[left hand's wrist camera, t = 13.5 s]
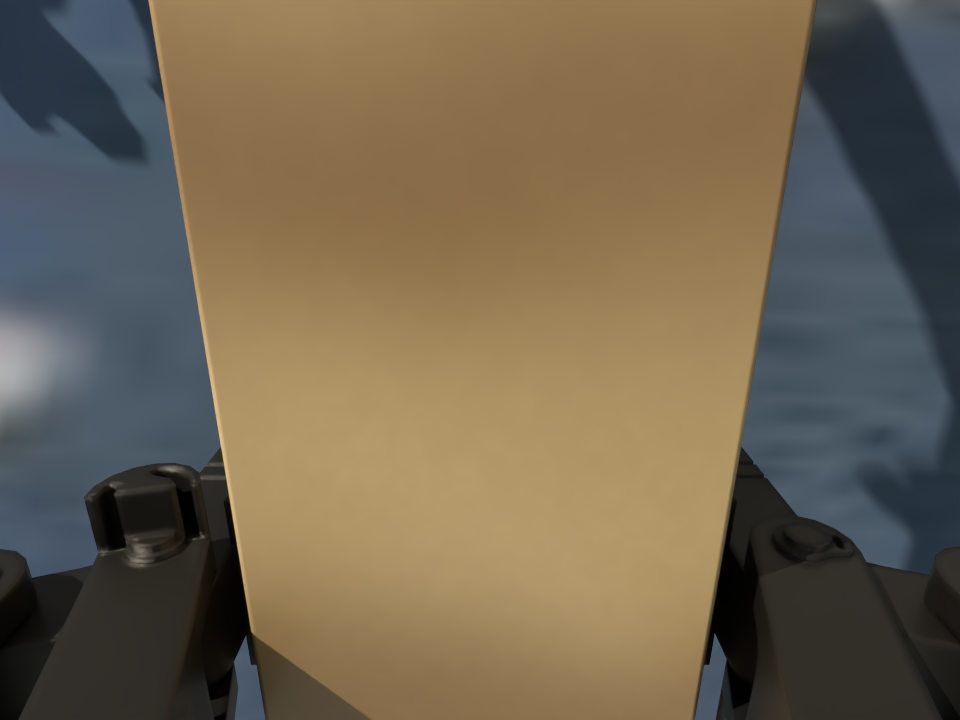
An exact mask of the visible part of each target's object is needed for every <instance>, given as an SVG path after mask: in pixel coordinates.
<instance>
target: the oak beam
mask: <svg viewBox="0 0 960 720" xmlns="http://www.w3.org/2000/svg"><path fill="white" fill-rule="evenodd" d="M816 4H817V0H149V6H150V12H151V18H152V25H153V31H154V37H155V43H156V49H157V55H158V61H159V68H160V74H161V80H162V86H163V92H164V98H165V104H166V111H167V117H168V123H169V129H170V135H171V141H172V148H173V154H174V160H175V166H176V172H177V178H178V184H179V191H180V197H181V203H182V209H183V215H184V221H185V227H186V234H187V240H188V246H189V252H190V258H191V264H192V270H193V277H194V283H195V289H196V295H197V301H198V307H199V313H200V320H201V326H202V332H203V338H204V344H205V350H206V356H207V363H208V369H209V375H210V381H211V387H212V393H213V399H214V406H215V412H216V418H217V424H218V430H219V436H220V442H221V449H222V455H223V461H224V467H225V473H226V479H227V485H228V492H229V498H230V504H231V510H232V516H233V522H234V528H235V535H236V541H237V547H238V553H239V559H240V565H241V571H242V578H243V584H244V590H245V596H246V602H247V608H248V614H249V621H250V627H251V633H252V639H253V645H254V651H255V657H256V664H257V670H258V676H259V682H260V688H261V694H262V700H263V707H264V713H265V719H266V720H695V715H696V709H697V703H698V697H699V691H700V685H701V679H702V674H703V668H704V662H705V656H706V650H707V644H708V638H709V632H710V626H711V621H712V615H713V609H714V603H715V597H716V591H717V585H718V579H719V574H720V568H721V562H722V556H723V550H724V544H725V538H726V532H727V527H728V521H729V515H730V509H731V503H732V497H733V491H734V485H735V480H736V474H737V468H738V462H739V456H740V450H741V444H742V438H743V433H744V427H745V421H746V415H747V409H748V403H749V397H750V392H751V386H752V380H753V374H754V368H755V362H756V356H757V350H758V345H759V339H760V333H761V327H762V321H763V315H764V309H765V303H766V297H767V292H768V286H769V280H770V274H771V268H772V262H773V256H774V250H775V245H776V239H777V233H778V227H779V221H780V215H781V209H782V203H783V198H784V192H785V186H786V180H787V174H788V168H789V162H790V156H791V151H792V145H793V139H794V133H795V127H796V121H797V115H798V109H799V104H800V98H801V92H802V86H803V80H804V74H805V68H806V62H807V57H808V51H809V45H810V39H811V33H812V27H813V21H814V15H815V10H816Z"/></svg>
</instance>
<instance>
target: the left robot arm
mask: <svg viewBox="0 0 960 720" xmlns="http://www.w3.org/2000/svg"><path fill="white" fill-rule="evenodd" d="M84 500H85V503H86V507H87V511H88V515H89V519H90V522H91V526H92V530H93V534H94V538H95V542H96V545H97V549H98V553H99V554H98V556H97V558H96V560H95V562H94V564H93V565H91V566H88V567H84V568H79V569H74V570H69V571H64V572H59V573H54V574H49V575H44V576H39V577H34V578H32V577H31V574H30V571H29V567H28V564H27V561H26V558H24V557H23V556H22V555H20V554H19V553H18V552H16V551H10V550H2V549H0V720H234V718H235V709H236V701H237V693H238V684H237V677H236V671H235V666H234V660H235V658H236V656H237V653H238V651H239V649H240V647H241V645H242V643H243V640H244V638H245V636H246V637H247V643H248V649H249V655H250V661H251V665H257V664H256V657H255V651H254V645H253V639H252V633H251V627H250V621H249V614H248V608H247V602H246V596H245V590H244V584H243V578H242V571H241V565H240V559H239V553H238V547H237V541H236V535H235V528H234V522H233V516H232V510H231V504H230V498H229V492H228V485H227V479H226V473H225V467H224V461H223V455H222V449H221V448H220V449H219V450H218V451H217V452H216V454H215V455H214V456H213V457H212V459H211V460H210V461H209V462H208V466H207V467H204V469H203V470H202V471H201V472H200V474H199V472H197V471H196V470H195V469H193V468H192V467H190V466H186V465H181V464H177V463H163V464H151V465H146V466H141V467H136V468H132V469H129V470H127V471H124V472H121V473H118V474H116V475H113V476H111V477H109V478H108V479H106V480H104V481H103V482H101V483H99V484H97V485H96V486H94V487H93V488H92V490H91V491H90V492H89V493H88V494H87V495H86V496H85V497H84ZM714 634H716V636H717V639H718V641H719V643H720V645H721V647H722V649H723V652H724V654H725V656H726V658H727V661H726V666H725V672H724V677H723V682H722V688H721V693H720V699H719V704H718V710H717V716H716V720H725V718H726V720H960V547H953V548H946V549H944V550H943V551H941V552H940V553H939V554H937V555H936V556H935V559H934V563H933V566H932V569H931V572H930V575H925V574H920V573H915V572H910V571H905V570H900V569H895V568H890V567H885V566H880V565H876V564H872V563H868V562H866V561H865V559H864V557H863V555H862V553H861V551H860V550H859V549H858V548H857V546H856V545H855V544H854V543H853V541H852V540H851V539H849V538H848V537H846V536H845V535H843V534H842V533H840V532H839V531H837V530H836V529H834V528H832V527H830V526H827V525H825V524H823V523H820V522H818V521H816V520H812V519H807V518H803V517H799V516H797V515H796V514H795V512H794V511H793V510H792V509H791V508H790V506H789V505H788V504H787V503H786V501H785V500H784V499H783V498H782V496H781V495H780V494H779V493H778V491H777V490H776V489H775V488H774V487H773V485H772V484H771V483H770V482H769V480H768V479H767V478H764V474H763V473H762V472H761V470H760V469H759V468H758V467H757V465H753V461H752V459H751V458H750V457H749V456H748V454H747V453H746V452H745V451H744V449H743V448H742V447H741V450H740V456H739V462H738V468H737V474H736V480H735V485H734V491H733V497H732V503H731V509H730V515H729V521H728V527H727V532H726V538H725V544H724V550H723V556H722V562H721V568H720V574H719V579H718V585H717V591H716V597H715V603H714V609H713V615H712V621H711V626H710V632H709V638H708V644H707V650H706V656H705V662H704V665H709V663H710V657H711V651H712V645H713V640H714Z"/></svg>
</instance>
